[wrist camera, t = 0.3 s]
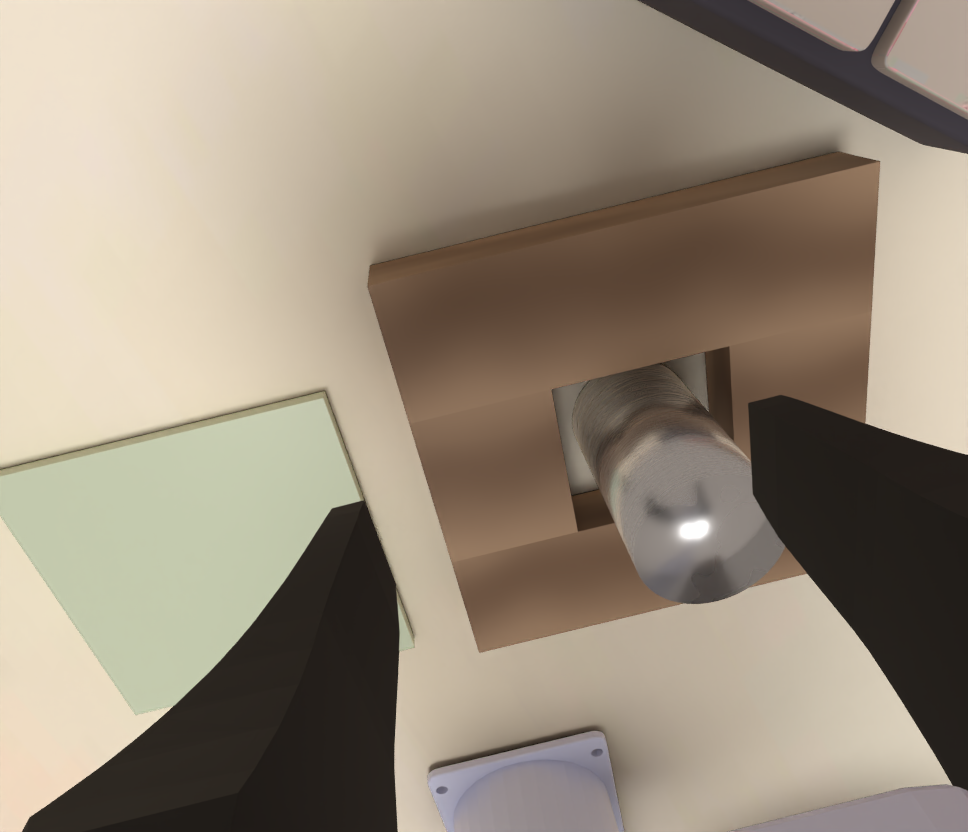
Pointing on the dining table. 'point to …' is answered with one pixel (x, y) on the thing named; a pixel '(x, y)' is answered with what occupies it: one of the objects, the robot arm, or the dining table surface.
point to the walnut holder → (617, 363)
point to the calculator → (856, 54)
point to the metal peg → (674, 486)
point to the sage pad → (180, 536)
